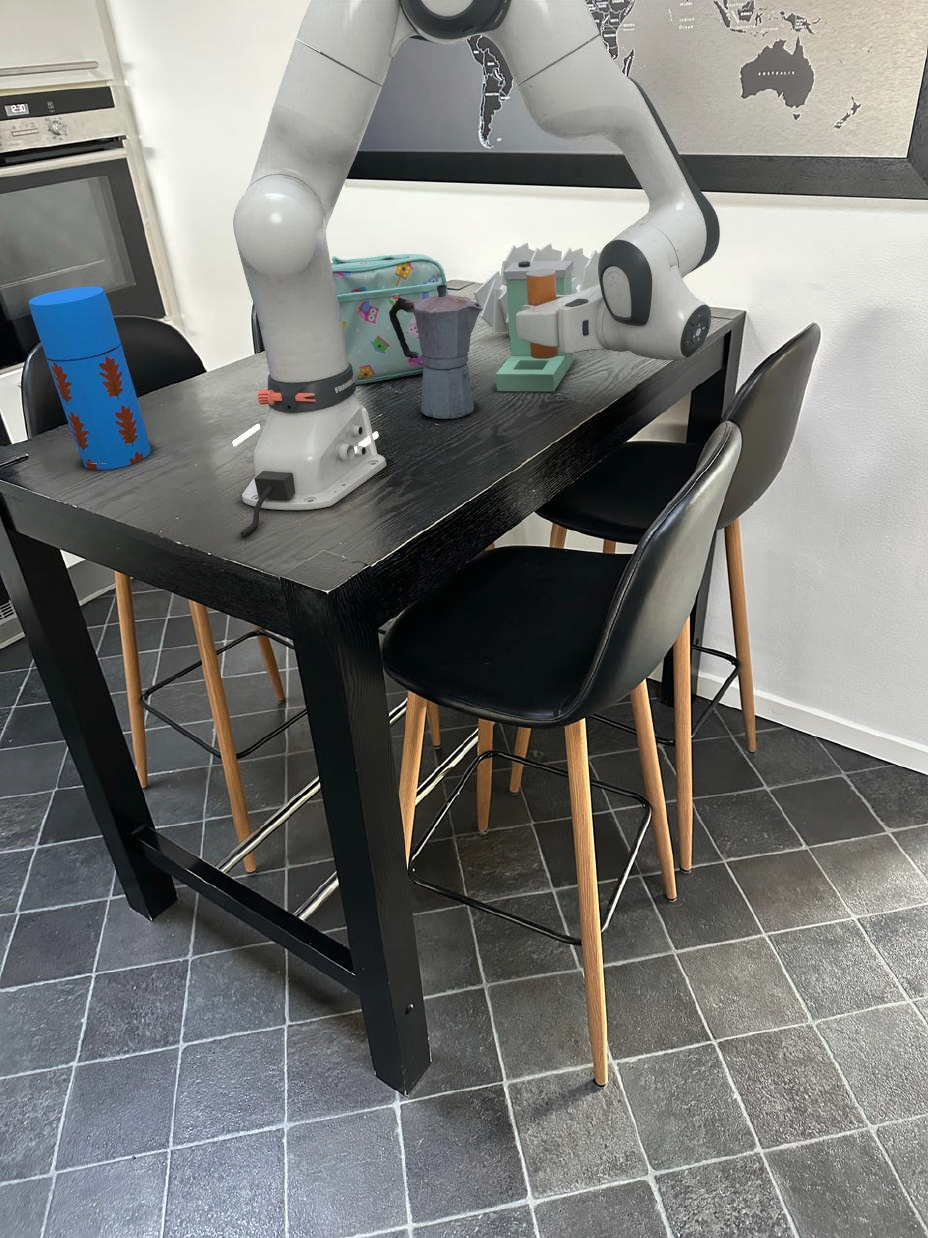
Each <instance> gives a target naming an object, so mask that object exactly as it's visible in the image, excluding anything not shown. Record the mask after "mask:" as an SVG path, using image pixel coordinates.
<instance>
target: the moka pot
mask: <svg viewBox="0 0 928 1238" xmlns="http://www.w3.org/2000/svg"><path fill="white" fill-rule="evenodd" d="M446 289H447V290H448V285H447V286H446V285H438V286H437V291H438V296H432V297H427V298H425V299H422V300H417V299H410V300H407V299H403V298H398V300H397V301H396V302H395V305H393V306H392V309H391V310H390V311H389V316H390V321H391V323H392V325H393V328H394V330H395V332H396V335H397V337H398V340H399V341H400V345H401V347H402V350H403V353H404V355H405V356H406V357H410V358H416V359H417V358H418V356H419V354H418V353H417V352H411V351H410V350H409V347H408V345H407V343H406V342H405V341H406V340H405V337H404V333H403V331H402V328H401V326H400V322H399V319H398V318H397V312H398V311H399V310H404V311H405V312H409V313H414V315H415V319H416V325H417V330H418V335H419V341H420V346H421V351H422V358H423V364H424V367H423V373H422V385H421V399H420V412H421V413H422V414H423V415H425V416H427V417H430V418H431V419H439V420H440V419H444V420H448V419H449V420H450V419H451V420H452V419H457V418H462V417H465V416H467V415H470V414H471V413H472V412H473V411H474V410H475V405H474V398H473V391H472V386H471V380H470V373H469V366H468V360H469V357H468V356H469V355H468V353H470V347H471V346H470V345H471V336H472V332H473V331H474V328H475V325H476V322H477V320H478V318H479V316H480V314H481V312H480V311H481V310H483V307H482V305H480V304H478V303H477V301H473V300H471V298H470V297H466V296H460V295H454V294H448V295H446Z"/></svg>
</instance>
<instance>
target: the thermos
mask: <svg viewBox="0 0 928 1238" xmlns="http://www.w3.org/2000/svg"><path fill="white" fill-rule="evenodd" d="M28 304H29V310H30V314H31V316H32V320H33V323H34V325H35V329H36V331H37V334H38V337H39V340H40V343H41V344H40V345H41V346H42V349H43V352H44V355H45V358H46V361H47V364H48V367H49V370H50V373H51V376H52V379H53V382H54V385H55V387H56V390H57V393H58V397H59V400H60V402H61V405H62V408H63V411H64V415H65V418H66V421H67V423H68V426H69V429H70V432H71V435H72V438H73V440H74V443H75V446H76V448H77V451H78V453H79V455H80V458H81V460H82V463H83V465H84V467H85V468H87V469H90V470H94V471H105V470H114V469H119V468H123V467H127V466H130V465H133V464H136V463H138V462H140V461H142V460H144V459H145V458H147V457H148V456H149V455H150V453H151V445H150V441H149V436H148V433H147V427H146V424H145V421H144V417H143V414H142V410H141V408H140V404H139V400H138V397H137V394H136V390H135V387H134V383H133V379H132V377H131V372H130V369H129V365H128V362H127V359H126V356H125V352H124V349H123V345H122V342H121V339H120V335H119V332H118V329H117V325H116V322H115V318H114V314H113V311H112V308H111V304H110V301H109V299H108V297H107V294H106V292H105V289H103V288H102V287H99V286H82V287H71V288H66V289H65V288H64V289H59V290H55V291H50V292H47V293H43V294H40V295H37V296H35V297H33V298H31V299H30V300H28ZM83 460H84V461H86V462H84V461H83ZM87 462H88V463H87ZM89 462H90V463H97V464H90V463H89ZM99 463H100V464H99ZM101 463H107V464H101Z"/></svg>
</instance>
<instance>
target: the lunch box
mask: <svg viewBox="0 0 928 1238" xmlns="http://www.w3.org/2000/svg"><path fill="white" fill-rule="evenodd" d="M331 261H332V262H331V267H332V273H333V278H334V283H335V288H336V293H337V298H338V302H339V307H340V313H341V319H342V325H343V332H344V338H345V344H346V351H347V357H348V362H349V363H350V364H351V365H352V369H353V373H354V375H355V386H356V385H363V384H370V383H377V382H381V381H387V380H388V381H389V380H392V379H398V378H403V377H409V376H414V375H419V374H423V367H424V364H423V358H422V351H421V346H420V341H419V335H418V330H417V325H416V319H415V315H414V313H409V312H405V311H404V310H399V311H398V312H397V318H398V319H399V322H400V326H401V328H402V331H403V333H404V337H405V340H406V341H405V342H406V343H407V345H408V347H409V350H410V351H411V352H417V353H418V354H419V356H418V358H417V359H416V358H410V357H406V356H405V355H404V353H403V350H402V347H401V345H400V341H399V340H398V337H397V335H396V332H395V330H394V328H393V325H392V323H391V321H390V316H389V311H390V310H391V309H392V306H393V305H395V302H396V301H397V300H398V298H403V299H407V300H410V299H417V300H422V299H425V298H427V297H432V296H438V291H437V286H438V285H446V286H447V287H448V284H447V277H446V274H445V271H444V268H443V266H442V264H441V263H440V262H438V261H437V260H435V259H434V258H432V257H431V256H428V255H426V254H421V253H403V254H402V253H401V254H389V255H388V254H387V255H377V256H372V257H371V256H370V257H361V258H360V257H359V258H350V259H341V258H338V257H337V256H332V257H331ZM446 295H449V291H448V288H447V289H446Z"/></svg>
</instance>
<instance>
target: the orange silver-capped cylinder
mask: <svg viewBox="0 0 928 1238" xmlns="http://www.w3.org/2000/svg"><path fill="white" fill-rule="evenodd" d="M526 278H527V296H528V304H529V303H531V304H536V305H537V306H538V305H541V304H544V303H547V302H550V301H553V300H556V299H557V297H556V271H555V270H553V269H537V270H532V271H529V272H527V273H526ZM530 349H531V357H533V358H536V359H548V358H553V357H556V356H557V355H558V354H559V347H548V346H543V345H539V344H535V343H531V342H530Z"/></svg>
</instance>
